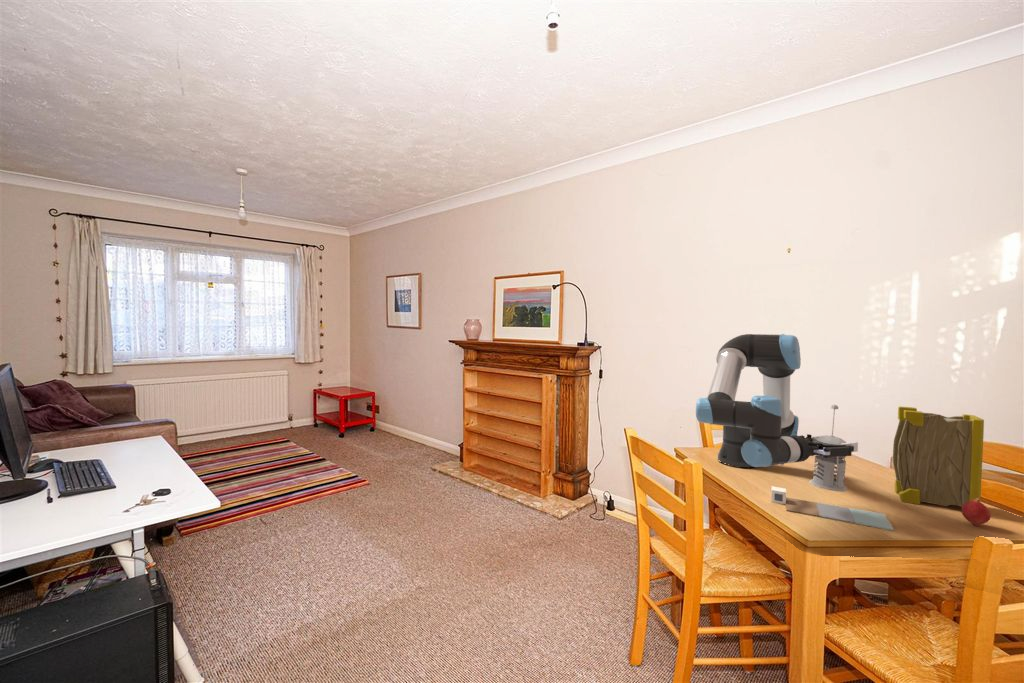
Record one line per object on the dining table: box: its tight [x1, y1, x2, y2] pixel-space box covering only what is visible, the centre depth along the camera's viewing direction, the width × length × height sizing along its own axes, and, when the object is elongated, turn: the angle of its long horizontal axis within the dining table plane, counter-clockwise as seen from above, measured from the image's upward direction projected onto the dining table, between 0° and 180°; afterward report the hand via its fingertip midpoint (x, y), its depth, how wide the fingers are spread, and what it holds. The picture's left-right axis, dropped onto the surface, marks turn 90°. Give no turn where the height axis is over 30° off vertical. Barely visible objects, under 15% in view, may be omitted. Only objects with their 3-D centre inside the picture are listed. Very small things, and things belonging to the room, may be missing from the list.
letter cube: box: [770, 485, 787, 506], centre depth 145 cm, size 4×4×4 cm
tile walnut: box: [785, 496, 821, 518], centre depth 141 cm, size 8×12×1 cm
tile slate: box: [816, 501, 855, 524], centre depth 136 cm, size 8×12×1 cm
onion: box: [961, 498, 992, 527], centre depth 129 cm, size 6×6×8 cm
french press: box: [808, 404, 849, 493], centre depth 136 cm, size 10×12×25 cm
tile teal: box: [848, 507, 894, 531], centre depth 132 cm, size 8×12×1 cm
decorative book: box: [892, 405, 985, 508], centre depth 146 cm, size 20×11×30 cm, turn 58°
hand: (841, 443), depth 138 cm, fingers closed on french press, 8 cm apart
